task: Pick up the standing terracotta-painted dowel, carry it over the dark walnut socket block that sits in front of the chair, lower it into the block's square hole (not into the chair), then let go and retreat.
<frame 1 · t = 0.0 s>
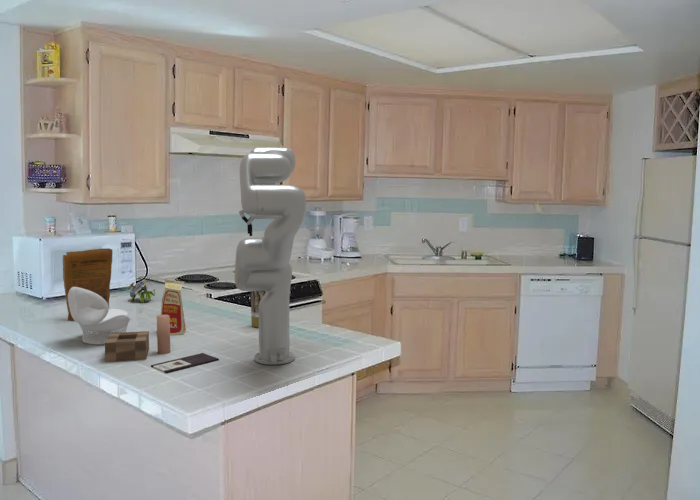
hand: (264, 235, 210), 37 cm above the table, tool pointing down, fingers open, 9 cm apart
milk carton: (173, 332, 224), on the table
chocolate bar: (185, 365, 187), on the table
passion flower: (142, 301, 279), on the table
paper tube: (260, 326, 233), on the table
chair: (101, 340, 212), on the table
socket block: (128, 355, 195), on the table
peg: (164, 352, 198), on the table
pancake mix bag: (90, 319, 244), on the table
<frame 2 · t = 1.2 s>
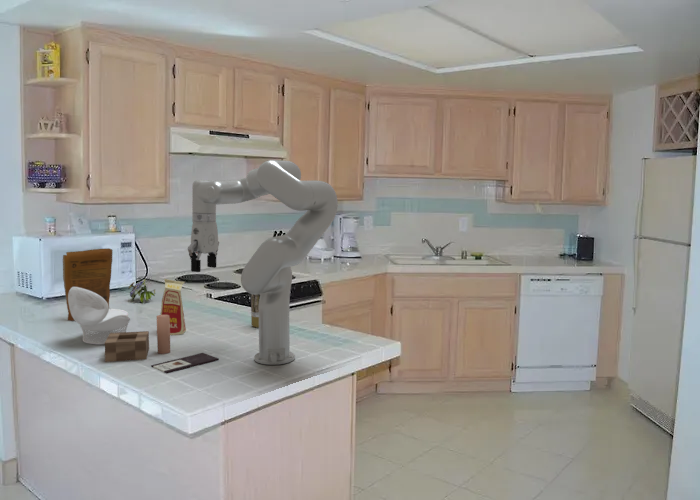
hand: (203, 269, 202), 26 cm above the table, tool pointing down, fingers open, 9 cm apart
nothing on the table moved.
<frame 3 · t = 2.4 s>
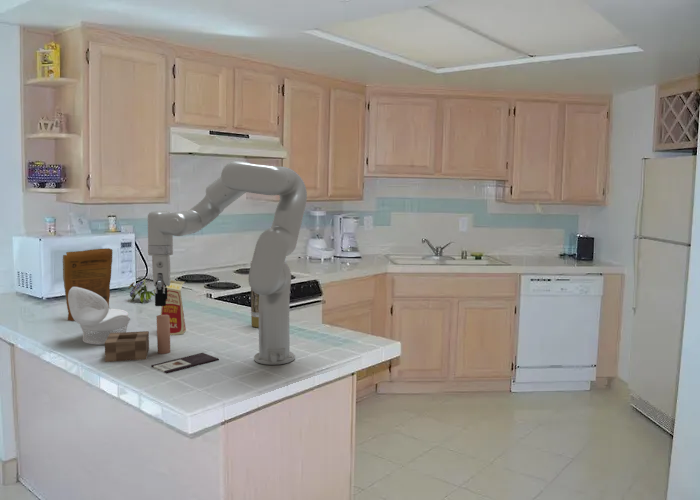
hand: (161, 302, 196), 16 cm above the table, tool pointing down, fingers open, 9 cm apart
nothing on the table moved.
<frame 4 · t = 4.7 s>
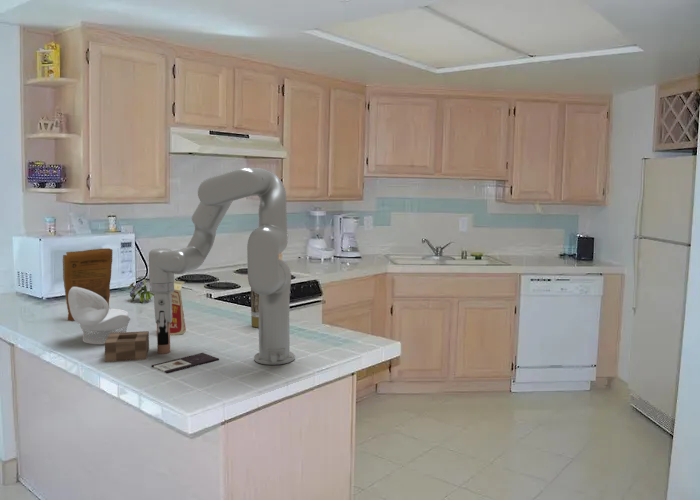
hand: (163, 342, 198), 3 cm above the table, tool pointing down, fingers closed on peg, 4 cm apart
peg: (164, 352, 198), on the table, touching gripper
everything else where it was.
when the fingers open (8 cm above the table, at t = 10.1 s): peg drops 4 cm, resting in socket block.
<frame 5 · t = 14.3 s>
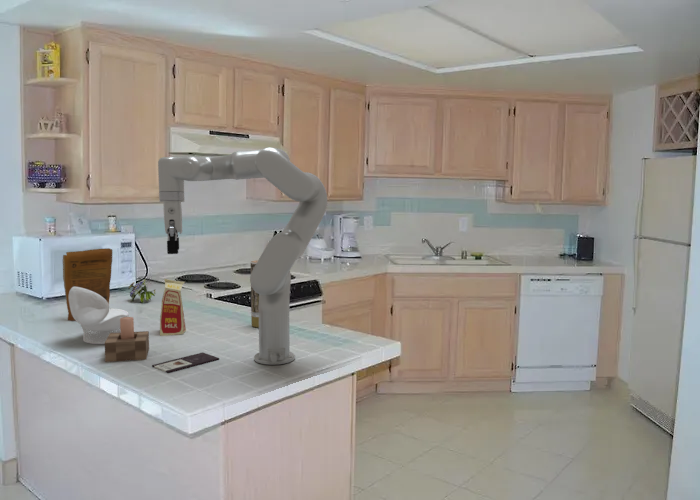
hand: (173, 251, 191), 33 cm above the table, tool pointing down, fingers open, 9 cm apart
peg: (128, 355, 195), resting in socket block
everything else where it was.
at the end: peg 0.1 cm off-centre on the socket block, point 0.0 cm above the socket block's base; peg tilted 0°; peg touching table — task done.
